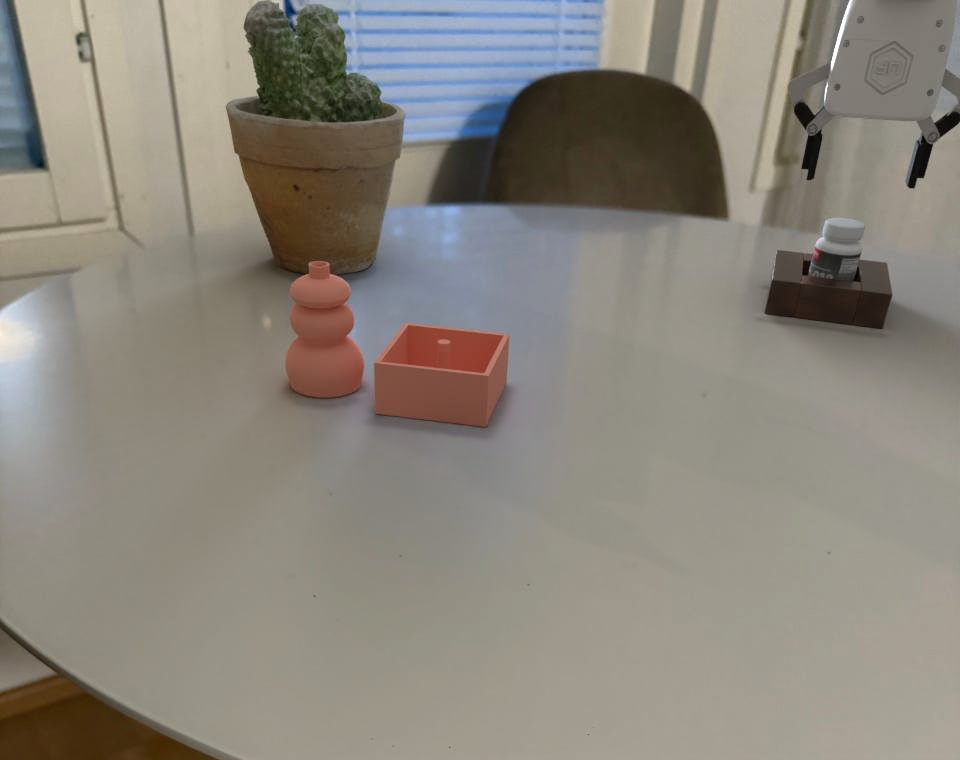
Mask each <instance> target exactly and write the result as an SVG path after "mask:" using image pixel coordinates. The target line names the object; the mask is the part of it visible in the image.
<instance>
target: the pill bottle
mask: <svg viewBox="0 0 960 760" xmlns="http://www.w3.org/2000/svg"><path fill="white" fill-rule="evenodd" d="M865 229H866V223H864V222H862V221H861V220H856V219H853V218H846V217H832V218H827V219H826V220H825V222H824V225H823V229H822V232H821V235H822V237H820V238H818V240H817V241H816V242H815V245H814V248H813V253H812V254H813V256H812V261H811V265H810V268H809V272H808V276H813V277H821V278H829V279H837V280H846V281H853V280H854V277H855V273H856V270H857V266H858V263H859V260H861V256H862V251H863V245H862V244H861V242H860V241H861V240H862V239H863V238H864V232H865Z"/></svg>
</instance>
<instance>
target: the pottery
mask: <svg viewBox="0 0 960 760" xmlns="http://www.w3.org/2000/svg"><path fill="white" fill-rule="evenodd" d="M308 265H309V274H303V275H302V276H300V277H297V278H296V279H295V280H294V281H293V282H292V283H291V284H290V288H289V295H290V297H291V299H292V300H293V301H294V302H295V304H294V305H293V307H292V308H291V310H290V313H289V323H290V327H291V329H292V330H293V332H294V333H295V335H297V337H296V338H295V339H294V340H293V341H292V342H291V344H289V347H288V348H287V351H286V354H285V359H284V366H285V367H284V368H285V372H286V375H287V379H288V381H289V384H290V387H291V388H292V390H293V391H294V392H296V393H298V394H300V395H303V396H307V397H312V398H320V399H321V398H322V399H323V398H324V399H326V398H327V399H329V398H338V397H343V396H347V395H350V394H352V393H353V394H354V393H355V392H357V391H358V390H359V389H360V387H361V385H362V381H363V376H364V372H365V360H364V356H363V352H362V350H361V348H360V347H359V345H358V344H357V343H356V341H355V340H354V339H353V338H352V337H351V336H349V335H350V333H352V331H353V328H354V326H355V319H356V317H355V314H354V312H353V309H352V308H351V306H350V305H349V304H348V303H347V302H348V301H349V300H350V297H351V295H352V290H351V286H350V284H349V283H348V282H347V281H346V280H345V279H344V278H342V277H341V276H338V275H332V274H330V269H329V263H328V262H324V261H314V262H310V263H309V264H308ZM509 349H510V333H502V332H495V331H494V332H492V331H483V330H474V329H465V328H456V327H448V326H447V327H446V326H437V325H430V324H429V325H427V324H419V323H409V322H404V323H403V325H402V326H401V327H400V329H399V330H398V331H397V332H396V333H395V335H394V336H393V338H392V339H391V340H390V342H389V343H388V344H387V346H386V347H385V348H384V349H383V350H382V352H381V353H380V355H379V356H378V357H377V358H376V360H374V363H373V373H374V374H373V376H374V377H373V378H374V379H373V380H374V409H375V410H374V412H375V413H374V414H375V415H383V416H392V417H399V418H408V419H418V420H424V421H431V422H439V423H440V422H442V423H448V424H458V425H465V426H473V427H483V428H487V427H488V424H489V422H490V419H491V417H492V416H493V414H494V411H495V409H496V407H497V404H498V402H499V400H500V398H501V395H502V393H503V391H504V389H505V386H506V385H507V381H508V365H509Z"/></svg>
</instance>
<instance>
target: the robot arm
mask: <svg viewBox="0 0 960 760" xmlns="http://www.w3.org/2000/svg"><path fill="white" fill-rule="evenodd" d="M957 5H958V0H849V1H848V4H847V6H846V9H845V12H844V15H843V18H842V22H841V25H840V29H839V31H838V35H837V39H836V43H835V45H834V50H833V54H832V59H831V60H830V61H828V62H825V63H824V64H822V65H820V66H818V67H815V68H813V69H811V70H808V71H807V72H804V73H803V74H800V75H798V76H796V77H794V78H792V79H791V80H789V82H788V83H787V91H788V95H789V98H790V102H791V105H792V109H793V113H794V115H795V117H796V118H797V120H798V121H799V123H800V124H801V126H802V128H803V129H804V130H805V132H806V134H807V137H806V142H805V146H804V151H803V157H802V162H801V167H800V169H801V170H806V177H805V180H806V181H812V180H814V179H815V175H816V172H817V171H816V170H817V166H818V163H819V162H818V161H819V157H820V152H821V147H822V142H823V133H822V131H823V128H825V126H826V125H827V124H828V123H829V122H830V121H832V120H833V118H835V117H841V118H850V119H863V120H865V119H867V120H881V121H894V122H896V121H898V122H916V124H917V126H918V127H919V129H920V132H921V133H920V136H919V138H918V139H917V140H915V142H914V147H913V151H912V154H911V158H910V161H909V166H908V170H907V173H906V177H905V181H904V182H905V185H906V187H907V188H908V189H913V190H914V189H915V188H916V186H917V185H916V184H917V182H918V179H924V178H925V176H926V172H927V169H928V166H929V163H930V158H931V154H932V151H933V148H934V145H935V144H936V143H937V142H939V139H941V138H942V137H944V136H945V135H946V134H947V133H949V132H950V131H951V130H953V129H954V128H955V127H956V126H958V125H959V124H960V77H958V76H957V75H956V74H955V73H953V72H951V71H950V70H949V69H947V64H948V59H949V55H950V50H951V43H952V40H953V34H954V28H955V21H956V15H957ZM823 81H826V83H825V84H826V85H825V90H824V97H823V105H822V106H821V107H820V109H818V111H816V112H815V113H813V111H812V109H811V108H810V106H809V105H808V104H807V100H806V97H805V91H806V90H807V89H808V88H810V87H813V86H814V85H817V84H819V83H821V82H823ZM942 88H944V89H945V90H946V91H948V92H949V93H951V94H952V95H953V96H955V97H956V101H955V103H954V104H953V106H952V108H951V109H950V110H949V111H948V112H947V113H946V114H944V115H943V116H941V117H940V118H939V119H938V120H936V121H935V122H934V120H933V118H932V115H933V114H934V112H935V109H936V107H937V104H938V100H939V97H940V94H941V90H942Z"/></svg>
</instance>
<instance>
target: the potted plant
mask: <svg viewBox="0 0 960 760" xmlns="http://www.w3.org/2000/svg"><path fill="white" fill-rule="evenodd" d="M339 19H340V18H339V13H338V12H335V10H334V9H333V8H331V7H328V6H326V5H324V4H322V3H311V4H306V5H305V6H303V8H301V9H300V10H299V13H298V16H297V17H296V18H295V21H296V24H295V25H294V26H293V27H291V25H290V24H291V22H292V19H291V18H288V17H287V16H286V15H285V11H284V10H283V9H281V8H280V3H279V2H277V3H276V2H273V1H271V0H261V1H260V0H259V1H257V2H256V3H254V4H253V6H251V7H250V9H249V10H248V11H247V12H246V15H245V18H244V24H243V27H242V29H243V30H244V32H245V35H244V37H245V38H246V41H247V43H248V44H249V45H250V47H248V49H247V53H248V54H249V56H250V57H251V59H252V65H253V69H254V73H255V78H256V81H257V82H256V84H257V85H258V86H259V87H257V89H256V90H255V92H256V94H257V95H254V96H247V97H241V98H235V99H232V100H230V101H228V102H227V103H226V104H225V109H226V110H225V111H226V115H227V120H228V124H229V128H230V134H231V140H232V146H233V151H234V154H236V155H238V158H239V163H240V167H241V171H242V175H243V179H244V181H245V183H246V185H247V186H248V189H249V192H250V194H251V198H252V201H253V204H254V207H255V210H256V213H257V217H258V218H259V221H260V224H261V227H262V229H263V232H264V234H265V237H266V238H267V241H268V244H269V247H270V250H271V254H272V257H273V258H274V260H275V262H276V264H277V266H278V267H280V268H282V269H284V270H286V271H290V272H293V273H297V274H303V275H307V274H309V265H308V264H309V263H310V262H314V261H324V262H328V263H329V269H330V274H332V275H336V276H338V275H343V274H351V273H356V272H360V271H364V270H366V269H368V268H369V267H370V266H372V264H373V263H374V261H375V260H376V259H377V254H378V249H379V244H380V240H381V234H382V229H383V224H384V219H385V216H386V212H387V207H388V204H389V199H390V195H391V191H392V185H393V179H394V173H395V169H396V168H395V167H396V161H397V160H398V159H400V158H401V153H402V148H403V141H404V128H405V119H406V116H407V111H406V110H405V109H404V108H401V107H400V106H399V105H398V104H394V103H392V102H389V101H385V100H381V95H382V91H381V89H380V87H379V85H378V84H377V83H375V82H374V81H372V80H371V79H369V78H368V77H367V76H366V75H364V74H360V73H359V72H349V73H347V70H346V68H347V64H348V63H347V62H348V53H347V49H346V45H345V40H346V32H345V31H344V29H343V28H342V26H340V25H339V24H338V23H339ZM294 30H295V31H294ZM295 36H297V37H295Z"/></svg>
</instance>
